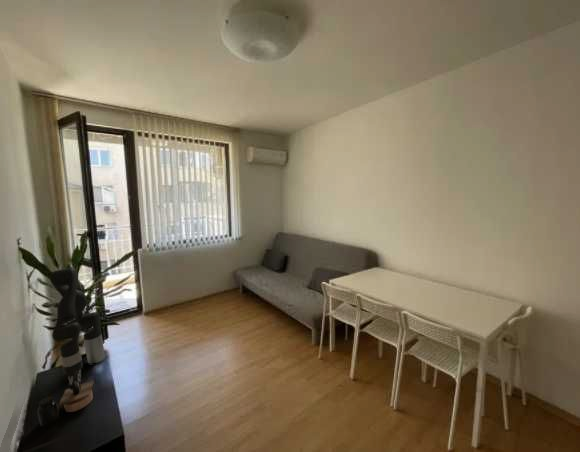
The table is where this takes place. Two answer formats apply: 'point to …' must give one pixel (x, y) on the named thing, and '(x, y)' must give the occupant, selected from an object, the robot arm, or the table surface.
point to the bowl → (78, 403)
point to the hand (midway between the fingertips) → (77, 391)
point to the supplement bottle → (48, 412)
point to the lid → (70, 396)
